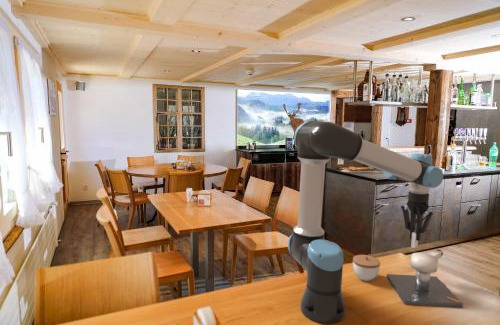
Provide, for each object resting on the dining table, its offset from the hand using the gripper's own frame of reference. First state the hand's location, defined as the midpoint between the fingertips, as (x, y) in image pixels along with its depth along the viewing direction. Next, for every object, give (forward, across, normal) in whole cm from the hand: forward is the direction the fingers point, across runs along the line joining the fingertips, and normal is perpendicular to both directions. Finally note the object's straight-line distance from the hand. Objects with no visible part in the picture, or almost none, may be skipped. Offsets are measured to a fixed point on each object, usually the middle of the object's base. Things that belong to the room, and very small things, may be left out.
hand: (414, 247), depth 140 cm
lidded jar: (+13, -12, -16) cm, 24 cm away
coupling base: (+13, +8, -9) cm, 18 cm away
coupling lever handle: (+3, +8, -4) cm, 9 cm away
